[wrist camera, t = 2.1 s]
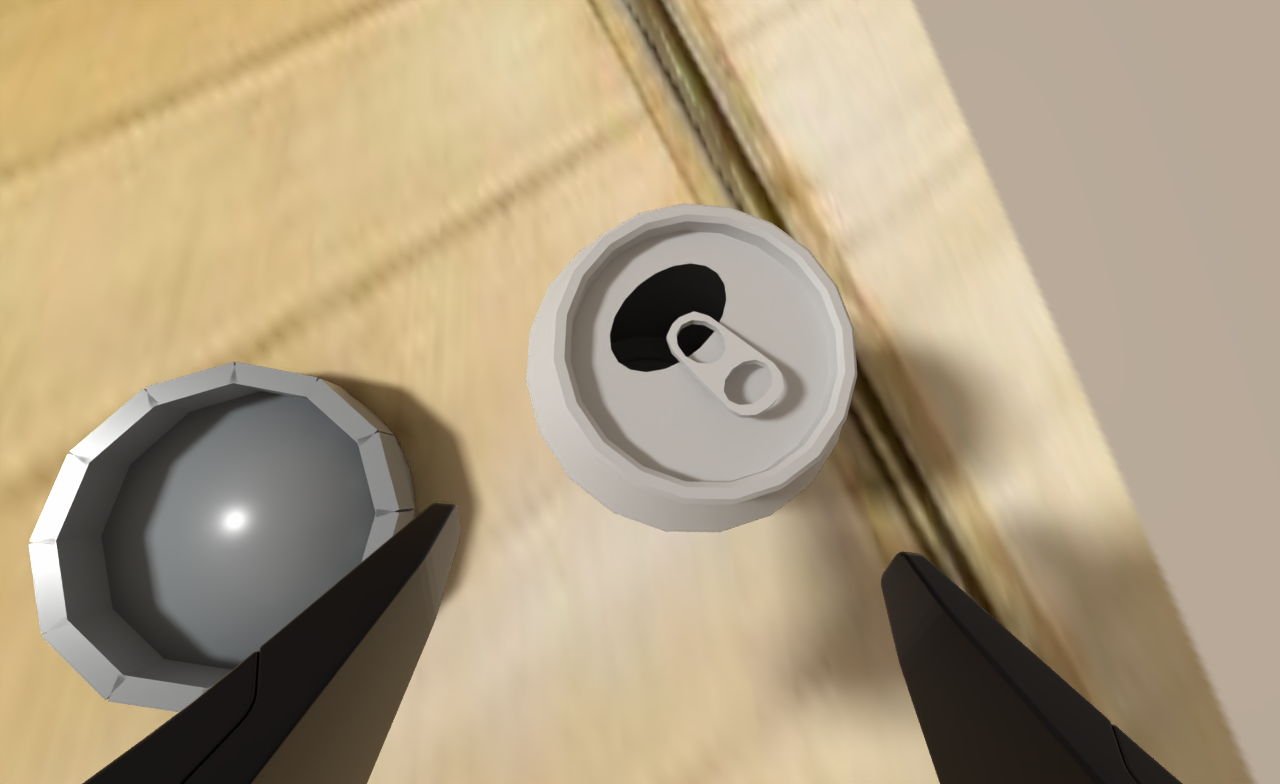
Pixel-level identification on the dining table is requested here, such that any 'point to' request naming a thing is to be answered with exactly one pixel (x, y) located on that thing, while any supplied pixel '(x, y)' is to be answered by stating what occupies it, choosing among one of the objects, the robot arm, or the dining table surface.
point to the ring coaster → (209, 526)
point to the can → (692, 368)
